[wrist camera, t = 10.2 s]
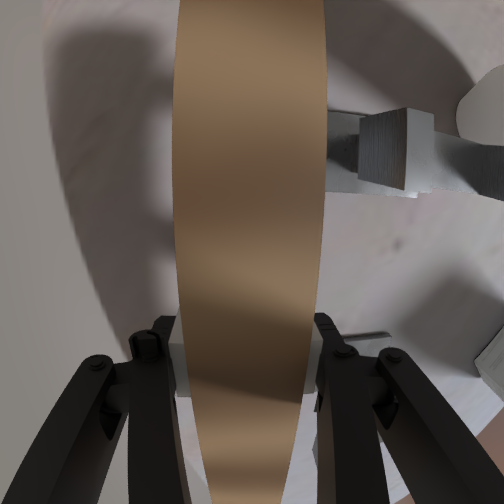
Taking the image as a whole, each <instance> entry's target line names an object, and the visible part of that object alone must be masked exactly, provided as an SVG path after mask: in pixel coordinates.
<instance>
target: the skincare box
mask: <svg viewBox="0 0 504 504" xmlns="http://www.w3.org/2000/svg"><path fill="white" fill-rule="evenodd" d="M474 363H475V365H476V367H477V369H478V371H479V373H480V375H481V377H482V379H483V381H484V382H485V383H486V384H487V385H488V386H489V387H490V388H491V389H492V390H493V391H494V392H495V393H496V394H497V395H498V396H499V397H500V399H501V400H502V401H503V402H504V326H503V328H502V329H501V330H500V332H499V333H498V334H497V335H496V336H495V338H494V339H493V340H492V341H491V342H490V344H489V345H488V346H487V347H486V348H485V349H484V350H483V352H482V353H481V354H480V355H479V356H478V357H477V358H476V359H475V361H474Z"/></svg>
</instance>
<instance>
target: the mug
mask: <svg viewBox="0 0 504 504" xmlns="http://www.w3.org/2000/svg"><path fill="white" fill-rule="evenodd" d="M456 123H457V129H458V133H459V135H460V138H463V139H467V140H470V141H474V142H477V143H480V144H485V145H499V146H504V64H503V65H501V66H498V67H496V68H494V69H493V70H491V71H490V72H488V73H487V74H486V75H485V76H484V77H483V78H482V79H481V80H480V81H479V82H478V83H477V84H476V85H475V86H474V87H473V88H472V89H471V90H470V91H469V92H468V93H467V94H466V95H465V96H464V97H463V98H462V99H461V100H460V102H459V104H458V107H457V111H456Z"/></svg>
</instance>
